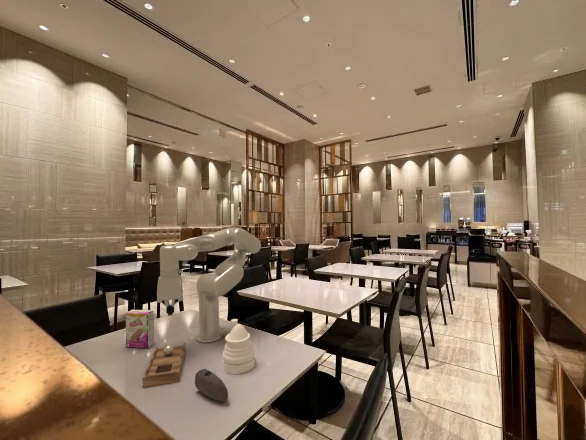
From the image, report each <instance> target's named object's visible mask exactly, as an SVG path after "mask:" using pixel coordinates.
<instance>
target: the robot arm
mask: <svg viewBox="0 0 586 440" xmlns="http://www.w3.org/2000/svg"><path fill="white" fill-rule="evenodd" d="M232 244H233V245H234V246H233V248H234V249H233V253H232V255H230V256H229V257H228V258H226V259H225V260H224V261H222V262H221V263H219V264H218V265H217V267H215V270H214V273H213V274H212V273H203V274H202V275H200V276H199V277H198V279H197V280H196V291H197V298H198V322H199V323H198V324H199V325H198V328H199V329H198V331H199V332H198V334H196V336H195V340H196V341H197V342H198V343H203V344H205V343H213V342H217V341H218V340H220V339H221V338H222V337H223V334H224V333H227V334H228V333H230V332H229V331H230V330H229V328H227V327H226V326H224V327H221V326H220V325H221V324H220V301H219V297H222V296H225V295H226V294H227V293H228V292H230V291H231V290H232V289H233V288H234V287H236V286H237V284H239V283H240V282H241V280H242V279H243V277H244V273H245V271H244V268H243V267H244V265H245V263H246V260H247V259H246V258H247V254H257V253H259V251H261V249H262V243H261V241H260V239H259V238H258V237H256V236H254V235H253V234H252V233H250V232H249V231H247V230H245V229H243V228H241V227H227V228H224V229H221V230H218V231H215V232H211V233H208V234H203V235H200V236H196V237H191V238H188V239H185V240H182V241H181V240H180V241H178V242H176V243H175V244H168V245H162V246H160V248H159V265H160V266H159V267H160V268H159V269H160V270H159V271H160V272H159V273H160V274H159V275H160V276H158V279H157V289H156V299H157V300H156V303H159V304H162V305H164V306H165V308H166V309H165V312H166V314H167V317H169V316H170V317H171V316H173V314H174V313H175V305H177V304H178V302H182V301H183V300H184V296H183V294H184V291H183V290H184V289H183V279H182V275H181V274H183V270H181V269H180V263H179V261H193V259H195V258H196V257H197V256H198V255H199V254H198V253H200V252H213V251H216V250H219V249H221V248H224V247H227V246H229V245H232ZM169 300H171V303H170V301H169Z"/></svg>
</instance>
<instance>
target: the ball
mask: <svg viewBox="0 0 586 440" xmlns="http://www.w3.org/2000/svg"><path fill="white" fill-rule="evenodd" d="M174 347H175V346H173V345H172V344H166V345H165V346H164V347H163V348H164V350H163V352H164V354H165V355H170V354H172V353H173V351H174Z"/></svg>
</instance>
